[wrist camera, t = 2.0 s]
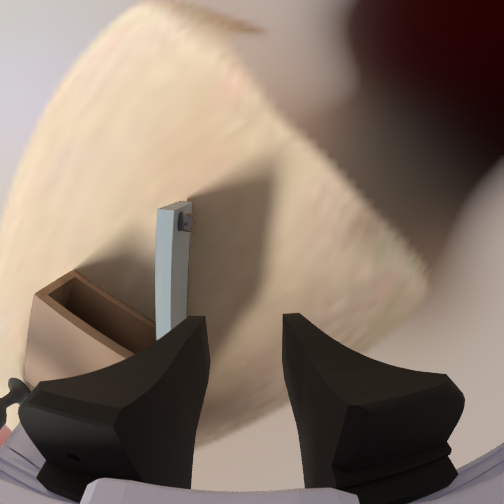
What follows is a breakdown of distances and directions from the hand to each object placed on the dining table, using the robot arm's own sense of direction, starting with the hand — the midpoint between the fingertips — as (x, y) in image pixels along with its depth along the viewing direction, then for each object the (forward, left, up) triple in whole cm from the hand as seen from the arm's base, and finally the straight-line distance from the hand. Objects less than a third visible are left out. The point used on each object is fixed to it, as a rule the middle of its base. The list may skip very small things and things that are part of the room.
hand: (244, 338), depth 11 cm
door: (-2, +3, -8) cm, 9 cm away
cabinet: (-11, +6, -8) cm, 15 cm away
